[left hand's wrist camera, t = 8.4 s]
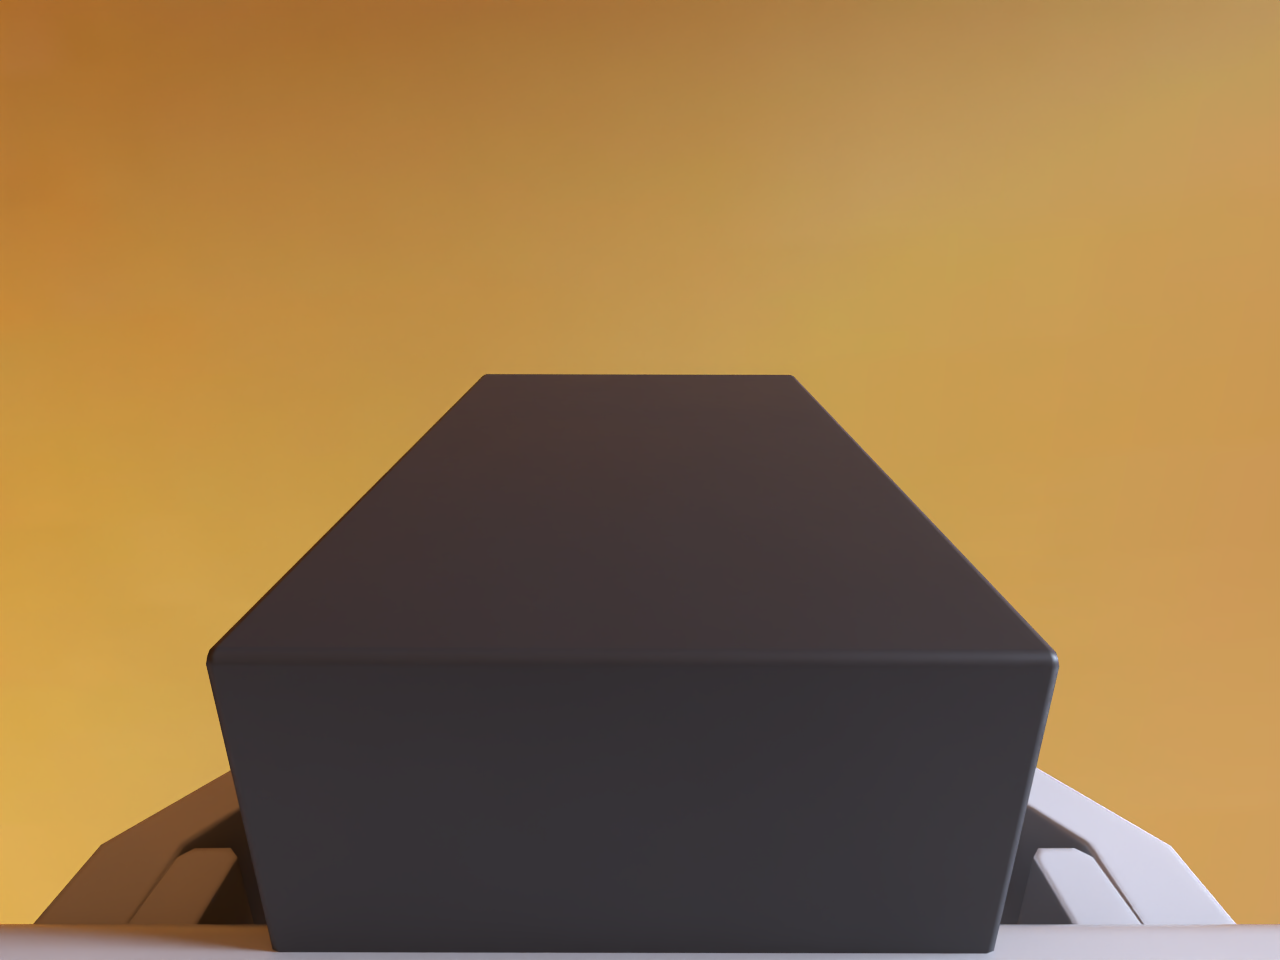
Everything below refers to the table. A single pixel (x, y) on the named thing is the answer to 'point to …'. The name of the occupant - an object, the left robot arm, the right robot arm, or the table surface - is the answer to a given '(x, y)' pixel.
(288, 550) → the table surface
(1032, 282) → the table surface
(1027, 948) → the left robot arm
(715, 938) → the bar
